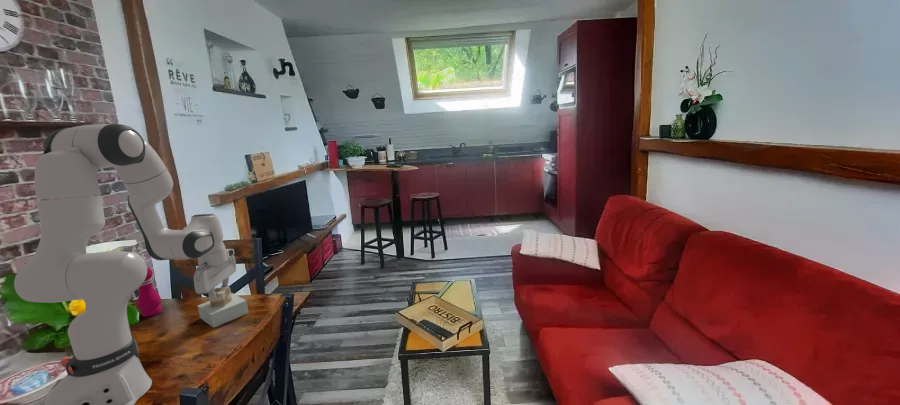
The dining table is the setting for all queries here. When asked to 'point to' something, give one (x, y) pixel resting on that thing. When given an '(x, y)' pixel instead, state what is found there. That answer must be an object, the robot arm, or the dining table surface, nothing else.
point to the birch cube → (221, 297)
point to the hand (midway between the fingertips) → (220, 294)
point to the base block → (223, 311)
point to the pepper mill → (148, 297)
